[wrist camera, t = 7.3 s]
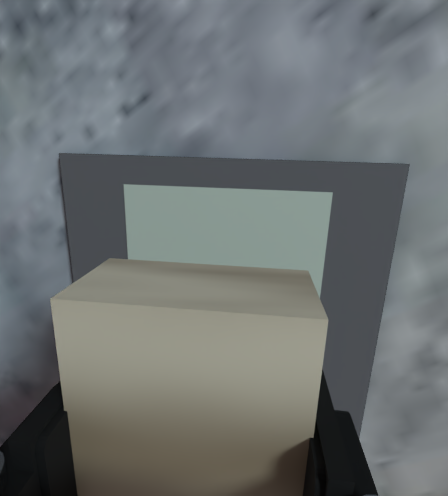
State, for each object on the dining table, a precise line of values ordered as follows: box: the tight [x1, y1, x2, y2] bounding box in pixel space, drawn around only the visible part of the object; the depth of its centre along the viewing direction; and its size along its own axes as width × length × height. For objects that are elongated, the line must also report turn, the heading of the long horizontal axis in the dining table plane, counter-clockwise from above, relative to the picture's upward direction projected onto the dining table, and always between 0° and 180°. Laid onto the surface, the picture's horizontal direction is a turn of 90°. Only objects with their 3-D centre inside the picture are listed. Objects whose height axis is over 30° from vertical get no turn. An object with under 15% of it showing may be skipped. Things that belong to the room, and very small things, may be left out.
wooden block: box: [50, 258, 328, 496], centre depth 10 cm, size 9×6×3 cm
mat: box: [59, 153, 410, 438], centre depth 21 cm, size 18×28×1 cm, turn 178°
